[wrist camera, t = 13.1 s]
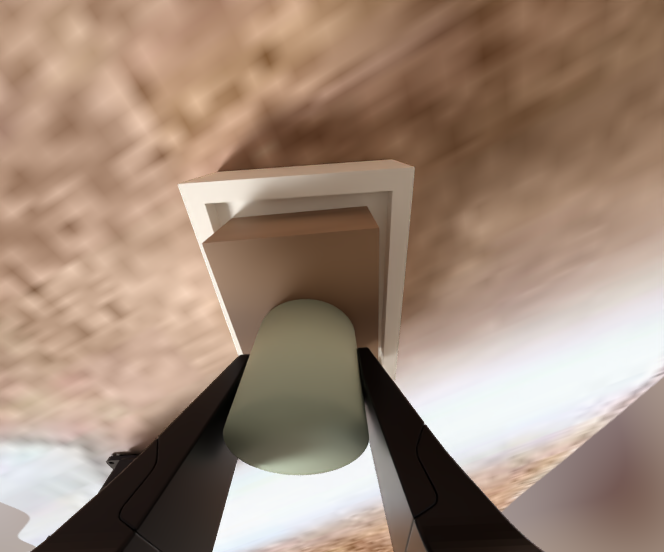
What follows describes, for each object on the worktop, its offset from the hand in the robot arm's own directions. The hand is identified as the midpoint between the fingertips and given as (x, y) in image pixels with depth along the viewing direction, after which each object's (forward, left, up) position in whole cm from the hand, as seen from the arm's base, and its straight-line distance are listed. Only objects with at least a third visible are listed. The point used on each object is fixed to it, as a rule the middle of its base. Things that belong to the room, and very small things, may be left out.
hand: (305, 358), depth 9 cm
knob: (0, 0, -1) cm, 1 cm away
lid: (0, 0, -4) cm, 4 cm away
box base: (0, 0, -7) cm, 7 cm away
